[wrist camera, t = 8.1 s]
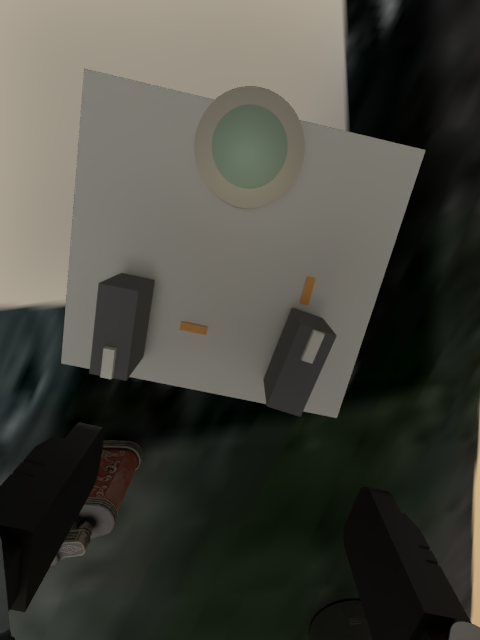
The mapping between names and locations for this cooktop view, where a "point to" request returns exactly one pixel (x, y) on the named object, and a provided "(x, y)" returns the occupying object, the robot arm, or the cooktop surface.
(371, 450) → the cooktop surface
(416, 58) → the cooktop surface
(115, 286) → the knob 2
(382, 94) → the cooktop surface
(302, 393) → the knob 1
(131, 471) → the lighter
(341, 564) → the cooktop surface
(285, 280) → the base plate
